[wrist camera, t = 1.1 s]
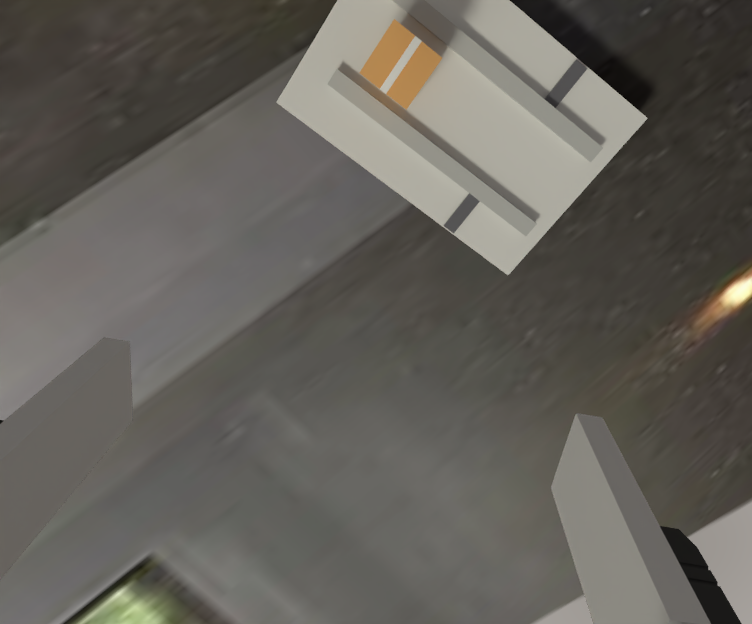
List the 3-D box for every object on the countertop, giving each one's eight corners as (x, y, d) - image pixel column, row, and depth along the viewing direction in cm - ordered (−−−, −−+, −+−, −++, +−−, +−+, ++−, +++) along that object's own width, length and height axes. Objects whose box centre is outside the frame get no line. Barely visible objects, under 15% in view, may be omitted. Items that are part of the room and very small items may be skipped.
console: (284, 100, 35) (273, 103, 33) (397, -87, 31) (395, -101, 28) (504, 265, 38) (509, 278, 36) (635, 115, 34) (651, 118, 31)
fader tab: (366, 73, 32) (358, 73, 28) (397, 25, 31) (393, 18, 27) (408, 105, 33) (406, 110, 29) (440, 60, 31) (442, 58, 28)
